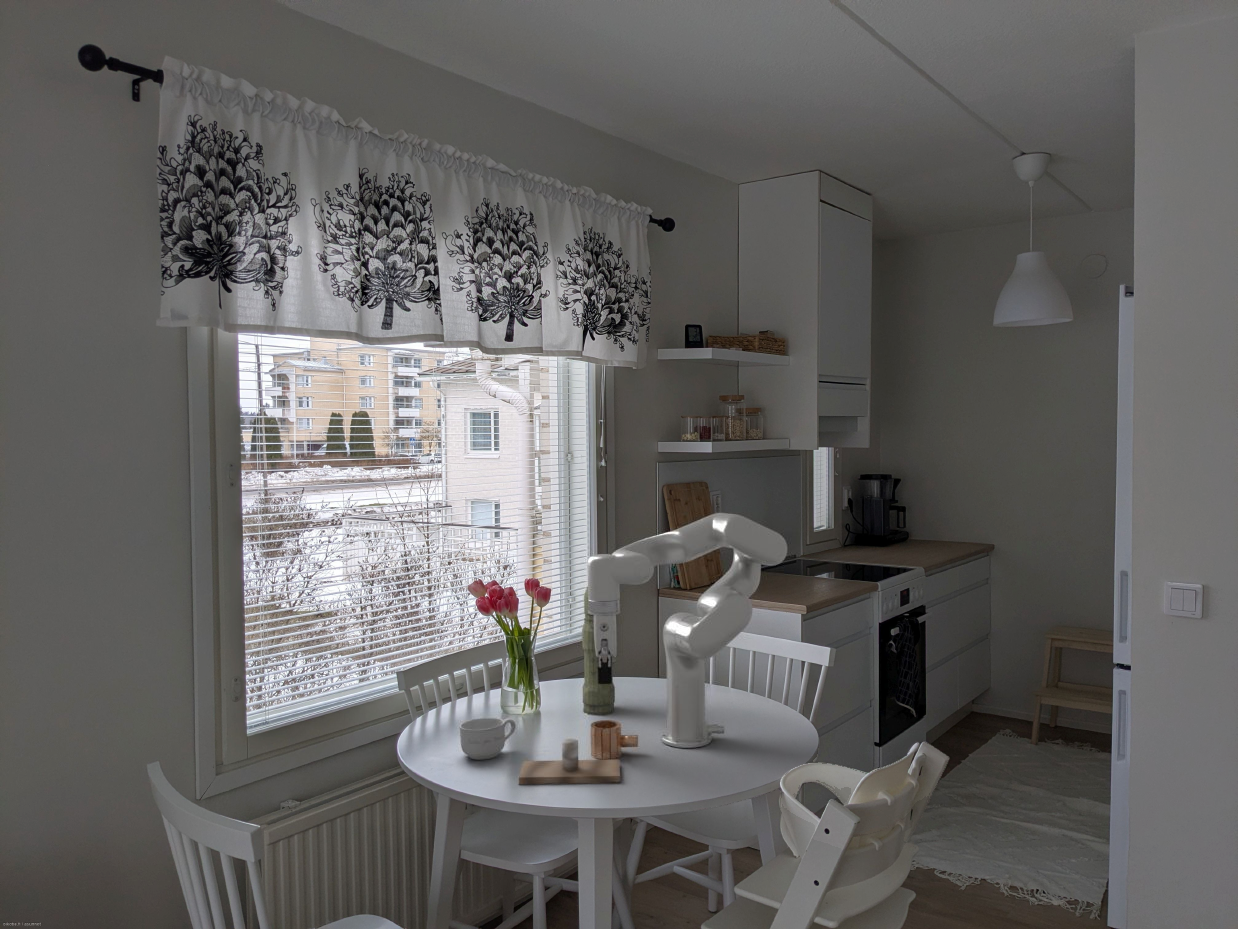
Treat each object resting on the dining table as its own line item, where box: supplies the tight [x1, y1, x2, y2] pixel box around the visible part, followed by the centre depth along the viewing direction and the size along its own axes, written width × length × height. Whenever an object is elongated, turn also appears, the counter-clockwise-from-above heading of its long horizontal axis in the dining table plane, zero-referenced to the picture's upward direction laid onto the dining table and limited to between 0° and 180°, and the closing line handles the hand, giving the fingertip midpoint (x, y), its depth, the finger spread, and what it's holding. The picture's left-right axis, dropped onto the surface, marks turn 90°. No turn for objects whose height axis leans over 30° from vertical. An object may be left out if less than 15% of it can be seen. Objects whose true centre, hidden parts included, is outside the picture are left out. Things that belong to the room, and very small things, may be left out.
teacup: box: [459, 716, 516, 761], centre depth 206 cm, size 14×11×8 cm
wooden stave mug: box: [590, 719, 639, 760], centre depth 206 cm, size 7×11×7 cm, turn 91°
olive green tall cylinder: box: [581, 586, 616, 716], centre depth 240 cm, size 9×12×35 cm
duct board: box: [518, 738, 621, 785], centre depth 192 cm, size 22×10×8 cm, turn 91°
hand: (605, 678), depth 205 cm, fingers open, 9 cm apart
